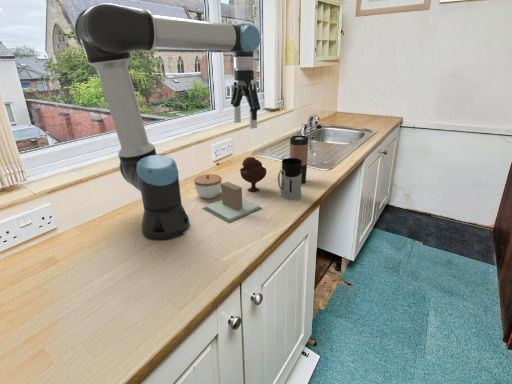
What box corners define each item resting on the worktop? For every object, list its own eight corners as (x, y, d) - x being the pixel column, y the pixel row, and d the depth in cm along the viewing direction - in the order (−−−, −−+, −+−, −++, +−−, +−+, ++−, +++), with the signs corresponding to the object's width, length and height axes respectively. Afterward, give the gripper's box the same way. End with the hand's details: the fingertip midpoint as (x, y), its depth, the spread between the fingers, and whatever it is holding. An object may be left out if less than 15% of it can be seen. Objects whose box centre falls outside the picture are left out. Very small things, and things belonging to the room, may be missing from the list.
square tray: (229, 225, 105) (228, 223, 105) (201, 209, 116) (201, 208, 116) (263, 209, 115) (263, 208, 115) (235, 197, 126) (235, 195, 126)
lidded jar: (190, 199, 125) (187, 177, 121) (205, 189, 133) (203, 168, 130) (213, 204, 120) (211, 181, 117) (227, 193, 129) (226, 172, 126)
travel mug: (309, 183, 138) (311, 138, 130) (293, 186, 135) (295, 140, 127) (300, 177, 144) (302, 134, 136) (285, 180, 142) (286, 136, 134)
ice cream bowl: (264, 197, 125) (264, 161, 119) (237, 195, 127) (235, 160, 121) (268, 187, 134) (268, 153, 129) (243, 185, 137) (242, 152, 131)
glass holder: (305, 195, 126) (307, 159, 120) (288, 209, 115) (289, 170, 109) (286, 190, 131) (287, 156, 125) (268, 203, 120) (268, 166, 114)
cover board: (229, 221, 106) (228, 197, 103) (205, 208, 116) (203, 185, 112) (259, 208, 115) (259, 185, 111) (234, 197, 124) (233, 175, 121)
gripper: (269, 70, 112) (269, 129, 120) (237, 68, 132) (239, 119, 140) (251, 70, 109) (252, 131, 117) (221, 68, 128) (223, 121, 137)
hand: (245, 125), depth 129 cm, fingers open, 13 cm apart
